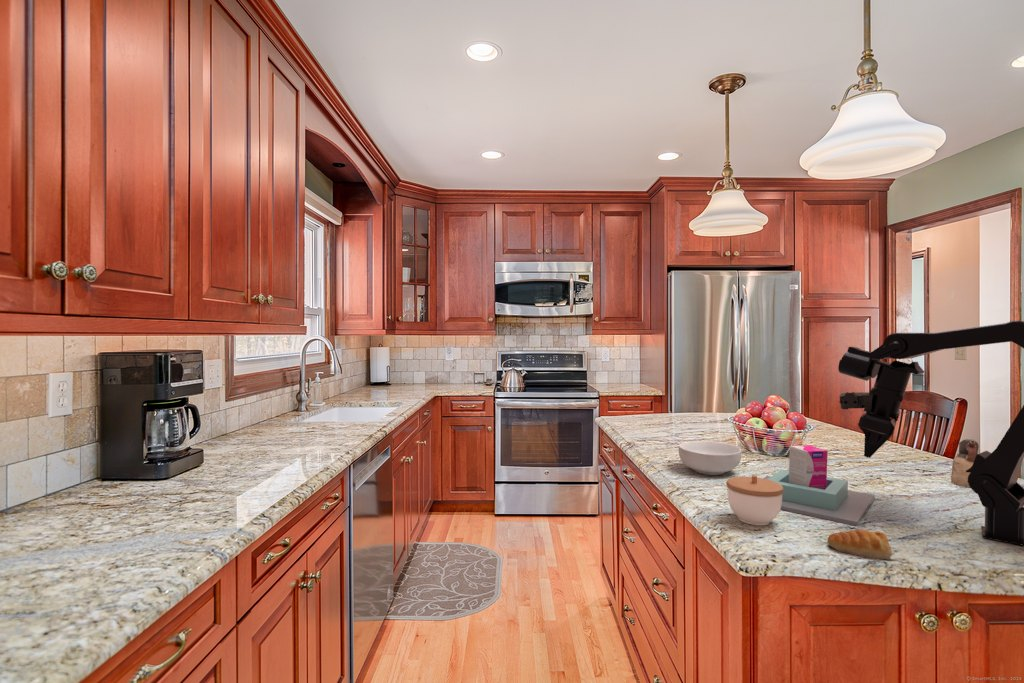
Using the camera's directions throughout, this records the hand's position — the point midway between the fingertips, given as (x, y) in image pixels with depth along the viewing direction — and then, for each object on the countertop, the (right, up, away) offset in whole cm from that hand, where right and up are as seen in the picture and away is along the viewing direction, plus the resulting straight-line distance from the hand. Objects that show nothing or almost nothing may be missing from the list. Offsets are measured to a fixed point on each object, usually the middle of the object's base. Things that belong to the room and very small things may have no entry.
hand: (869, 452), depth 118 cm
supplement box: (-12, -11, +4) cm, 17 cm away
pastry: (-19, -13, -25) cm, 34 cm away
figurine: (+37, -12, +16) cm, 42 cm away
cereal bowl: (-26, -12, +28) cm, 40 cm away
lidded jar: (-31, -12, -10) cm, 35 cm away
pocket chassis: (-12, -12, +4) cm, 18 cm away
